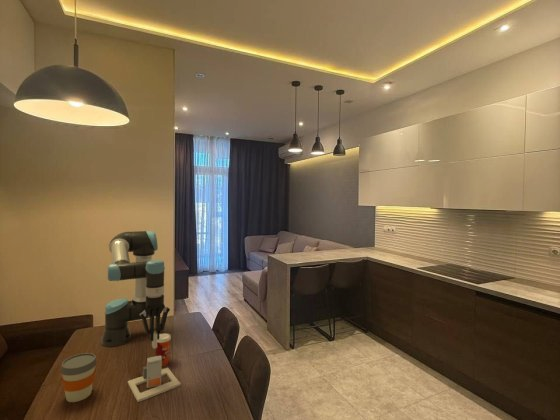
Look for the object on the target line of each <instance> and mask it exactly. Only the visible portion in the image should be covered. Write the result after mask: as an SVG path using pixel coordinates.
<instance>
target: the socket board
mask: <svg viewBox="0 0 560 420" xmlns="http://www.w3.org/2000/svg"><path fill="white" fill-rule="evenodd" d="M164 376H167V378H168V379H169V380H170V381H169V382H165V383H164V384H161V385H160V386H155V387H151V388H149V389H146V390H144V391H141V392H140V390H139V388H138V387H137V386H139V385H142V384H144V383H145V384H146V383H147V365H146V366H142V376H140V377H138V376H137V377H136V378H133V379H130V380H128V381H127V384H128V385H127V386H129V388H130V390H131V392H132V394H133V396H134V398H135V399H136V402H137V403H139V402H143V401H145V400H148V399H150V398H152V397H155V396H157V395H160V394H162V393H165V392H167V391H170V390H172V389H175V388H178V387H180V386H181V382H180V381H179V379H178V378H177V377H176V376H175V375H174V374H173V372H172V371H171V369H170V368H169V367H165V368H162V371H161V377H164Z"/></svg>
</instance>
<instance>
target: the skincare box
mask: <svg viewBox="0 0 560 420" xmlns="http://www.w3.org/2000/svg"><path fill="white" fill-rule="evenodd" d="M146 366H147V382H146V389H152V388H155V387H157V386H160V385H162V376H161V371H162V369H163V368H162V367H163V366H162V357H161V356H156V355H155V356H151V357H147V358H146Z"/></svg>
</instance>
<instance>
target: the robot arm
mask: <svg viewBox="0 0 560 420" xmlns="http://www.w3.org/2000/svg"><path fill="white" fill-rule="evenodd" d="M108 249H109V251H110V253H111V264H108V265H107V280H108V281H109V282H115V281H116V282H119V281H127V280H134V282H135V284H134V285H135V288H134V295H133V296H132V298H131V300H129V299H127V298H122V297H121V298H118V299H113V300H112V301H111V300H110V302H108V303H107V304H105V309H104V315H105V317H104V332H103V334H102V337H101V340H100V341H101V345H102V346H103V347H108V348H109V347H111V348H112V347H117V346H118V347H119V346H122V345H125V344H126V343H128V342H130V341H131V339H132V334H131V331H130V328H129V325H128V324H129V323H128V322H132V321H135V322H136V321H139V320H140V321H141V320H142V324H143V328H144V331H145V334H147V335H149V341H150V342H151V348H152V349H156V348H157V340H158V339H159V334H161V331H164V329H165V327H166V322H167V318H168V314H169V312H170V310H171V309H170V307H168V306H165V295H164V293H165V269H166V267H165V262H164V261H163V260H162V259H153V258H152V257H153V256H154V255H155V252H156V251H158V239H157V234H156V233H155V231H153V230H141V231H140V230H138V231H135V230H134V231H123V232H121V233H118V234H117V235H115V236H114V237H113V238H112V239H111V240H110V242H109V244H108ZM129 253H132V255H133V256H134V257H135V262H131V261H130V256H129ZM161 314H162V315H161ZM147 319H149V324H148V320H147Z"/></svg>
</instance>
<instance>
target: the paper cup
mask: <svg viewBox="0 0 560 420" xmlns="http://www.w3.org/2000/svg"><path fill="white" fill-rule="evenodd" d="M171 339H172V337H171V334H170V333H159V339H158V340H157V348H155V356H161V357H162V367H165V366H167V365H168V364H169V363H170V362H169V360H170V349H171V348H170V347H171Z"/></svg>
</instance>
